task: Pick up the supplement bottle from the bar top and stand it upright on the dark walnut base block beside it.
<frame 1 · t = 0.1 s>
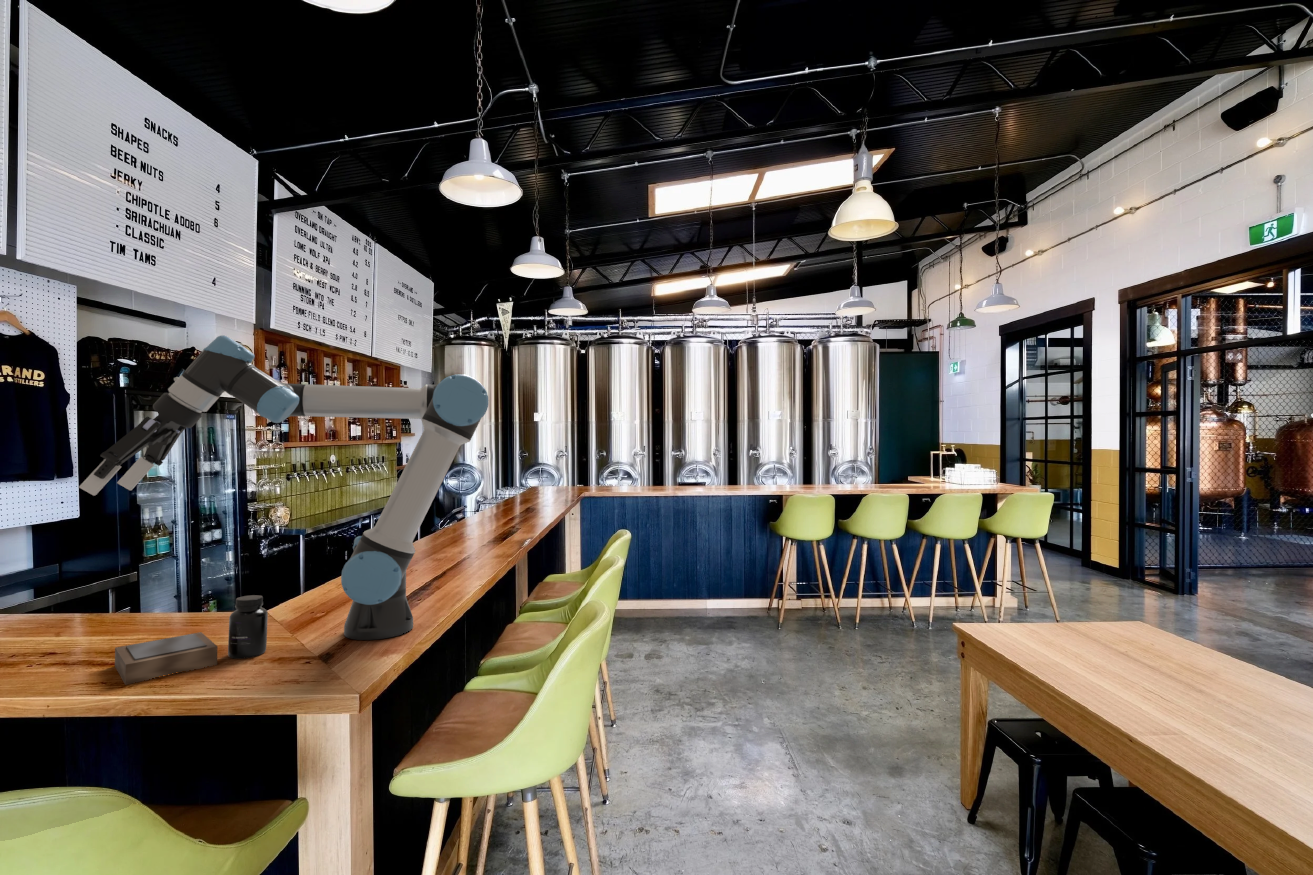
hand: (106, 489, 117), 36 cm above the table, tool tilted 35°, fingers open, 13 cm apart
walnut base: (166, 665, 121), on the table
supplement bottle: (247, 655, 128), on the table
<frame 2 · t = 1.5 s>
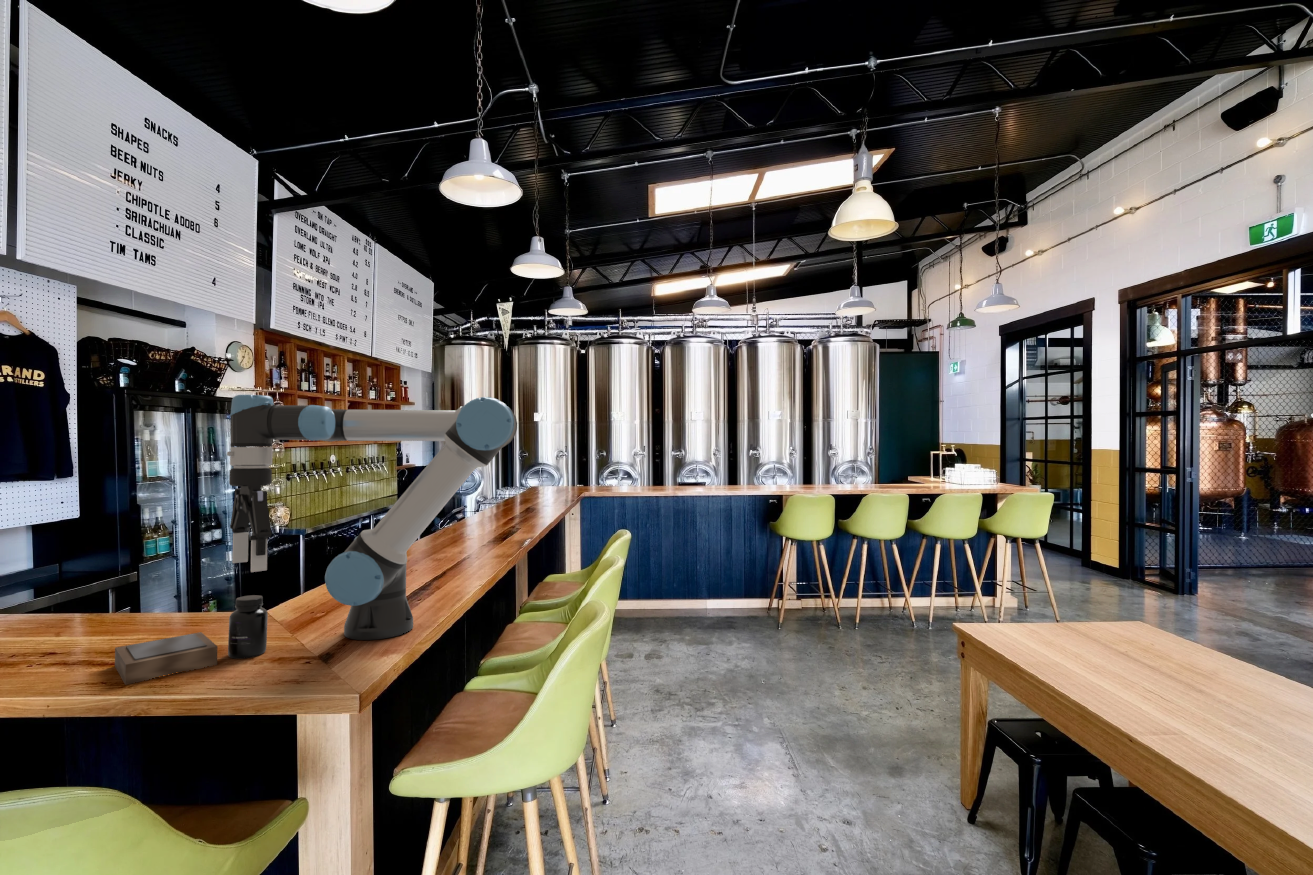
hand: (249, 566, 128), 19 cm above the table, tool pointing down, fingers open, 13 cm apart
nothing on the table moved.
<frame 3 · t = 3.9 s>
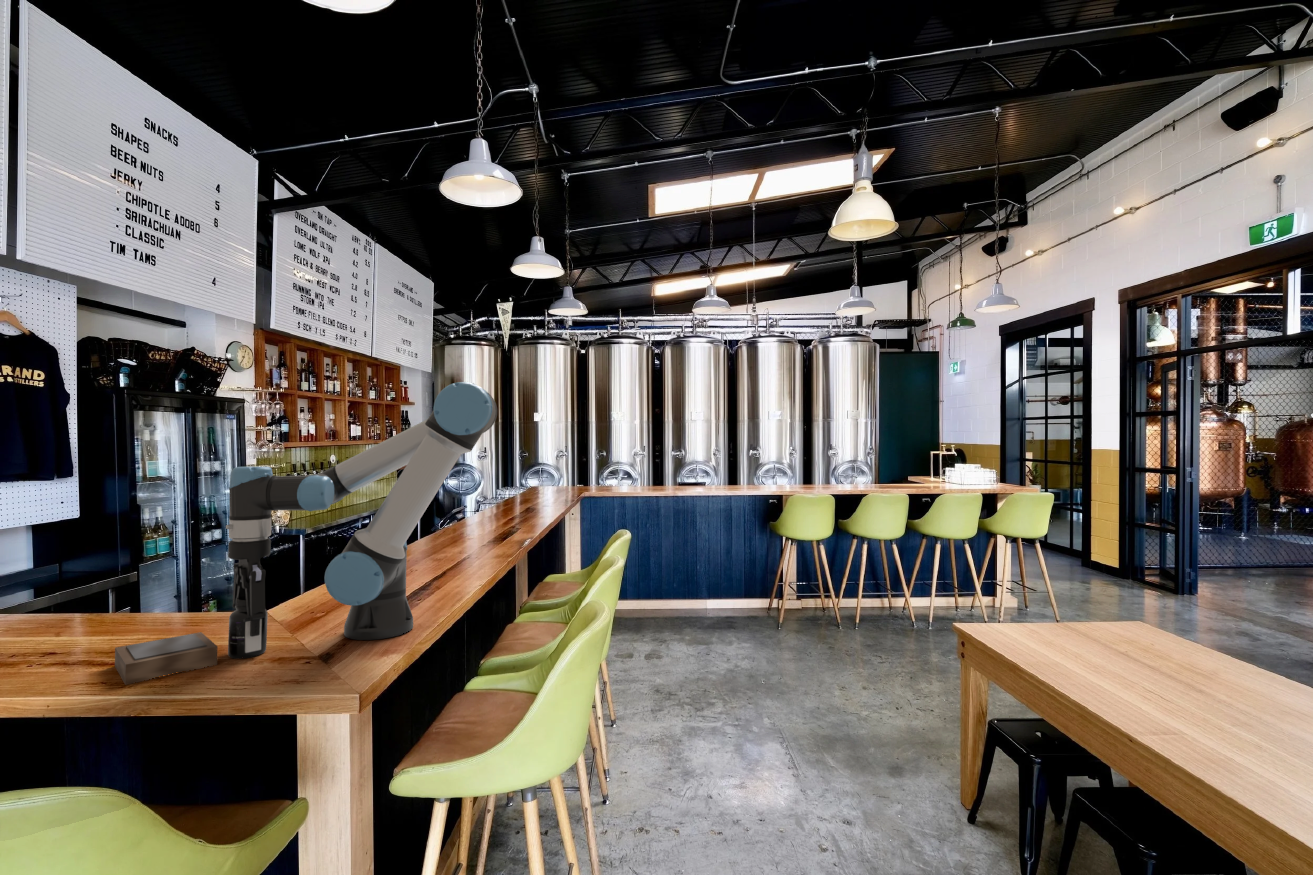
hand: (247, 646, 128), 2 cm above the table, tool pointing down, fingers closed on supplement bottle, 7 cm apart
supplement bottle: (247, 654, 128), on the table, touching gripper
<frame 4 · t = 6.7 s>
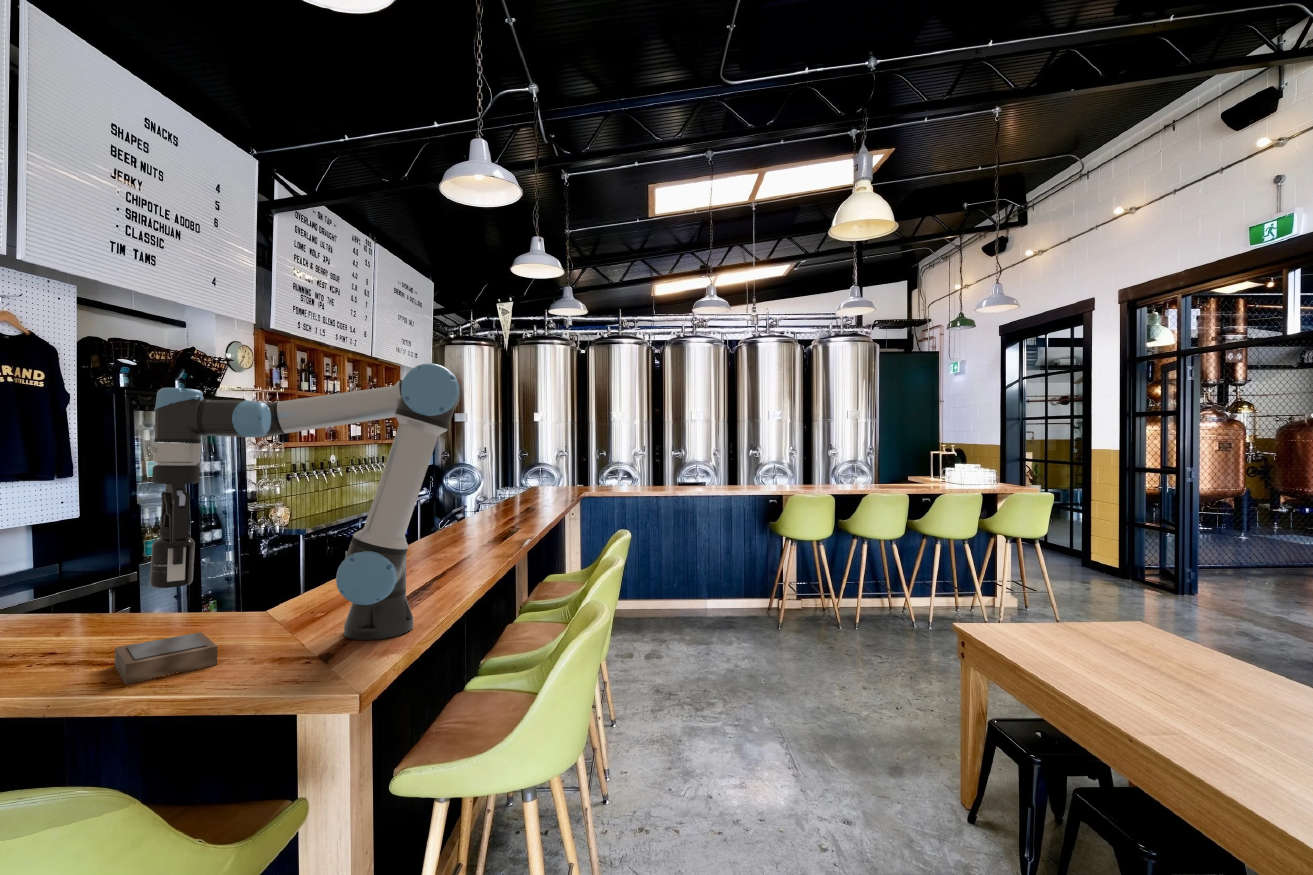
hand: (172, 577, 121), 18 cm above the table, tool pointing down, fingers closed on supplement bottle, 7 cm apart
supplement bottle: (171, 585, 121), point 16 cm above the table, touching gripper
when the fingers open (7 cm above the table, at t = 9.4 s): supplement bottle drops 1 cm, resting on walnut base.
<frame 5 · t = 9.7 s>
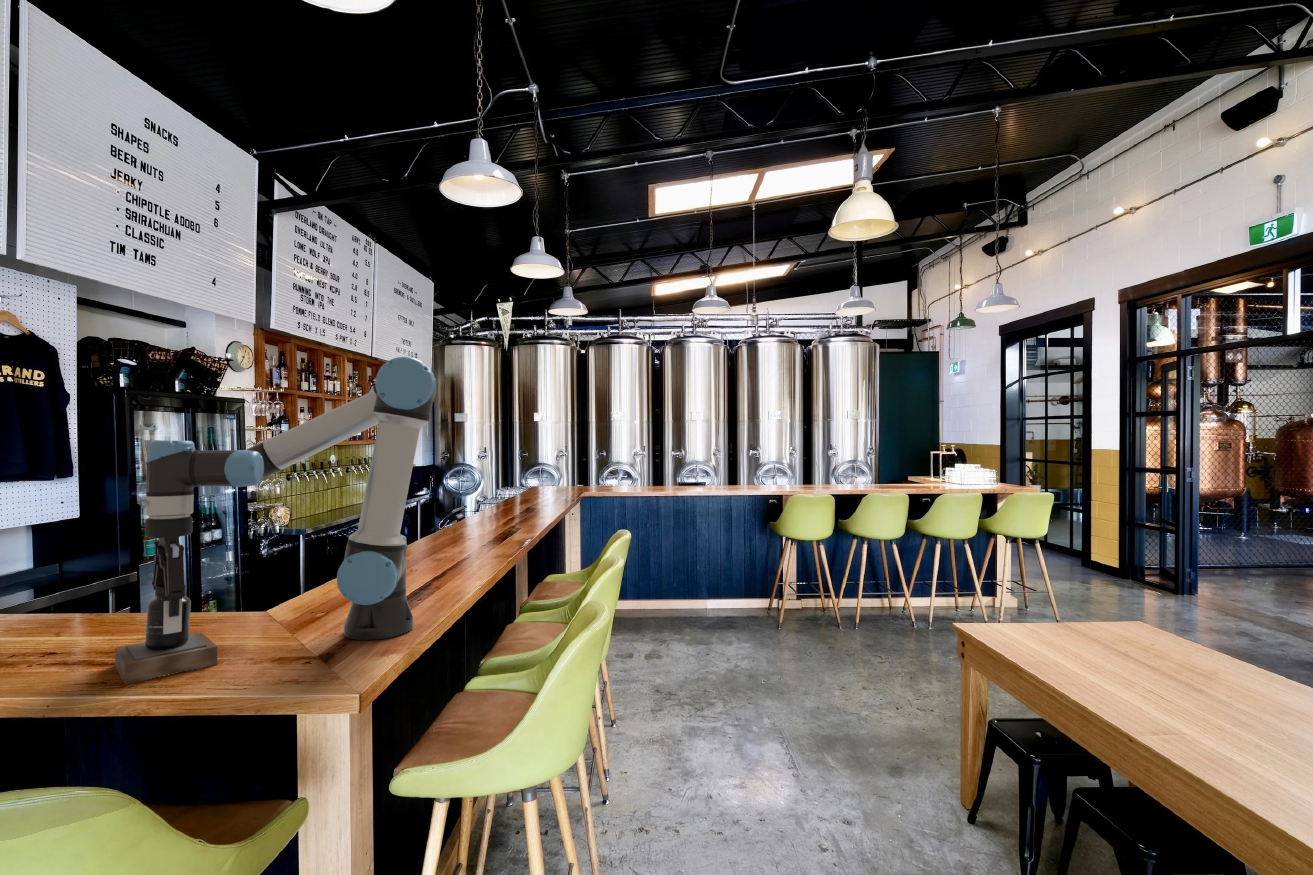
hand: (167, 627, 121), 8 cm above the table, tool pointing down, fingers open, 10 cm apart
supplement bottle: (167, 646, 121), point 4 cm above the table, touching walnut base
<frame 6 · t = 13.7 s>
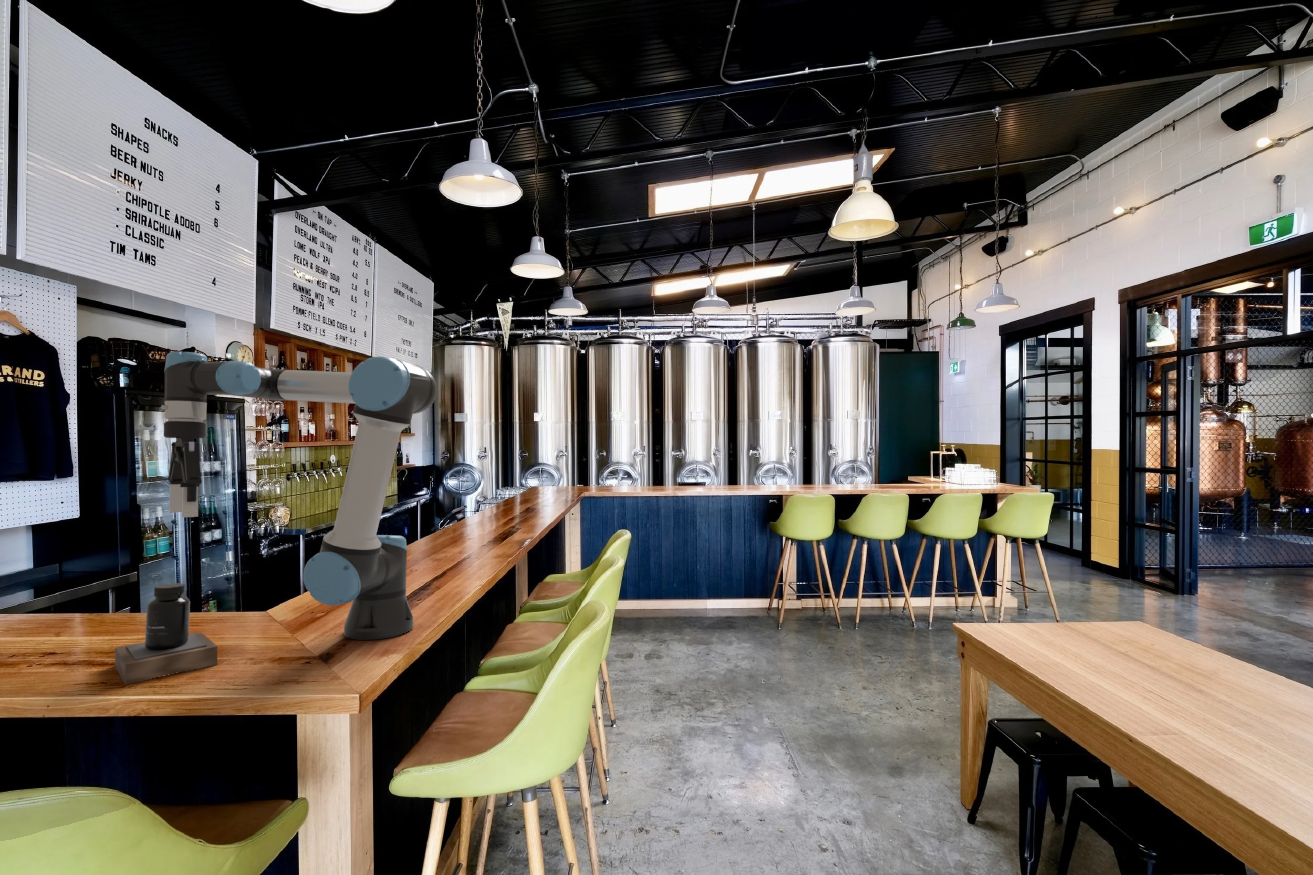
hand: (183, 514, 136), 29 cm above the table, tool pointing down, fingers open, 13 cm apart
nothing on the table moved.
at the end: supplement bottle inside the target area on the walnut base (0.1 cm from its centre), point 3.8 cm above the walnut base's base; supplement bottle tilted 0°; the gripper is holding nothing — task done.
